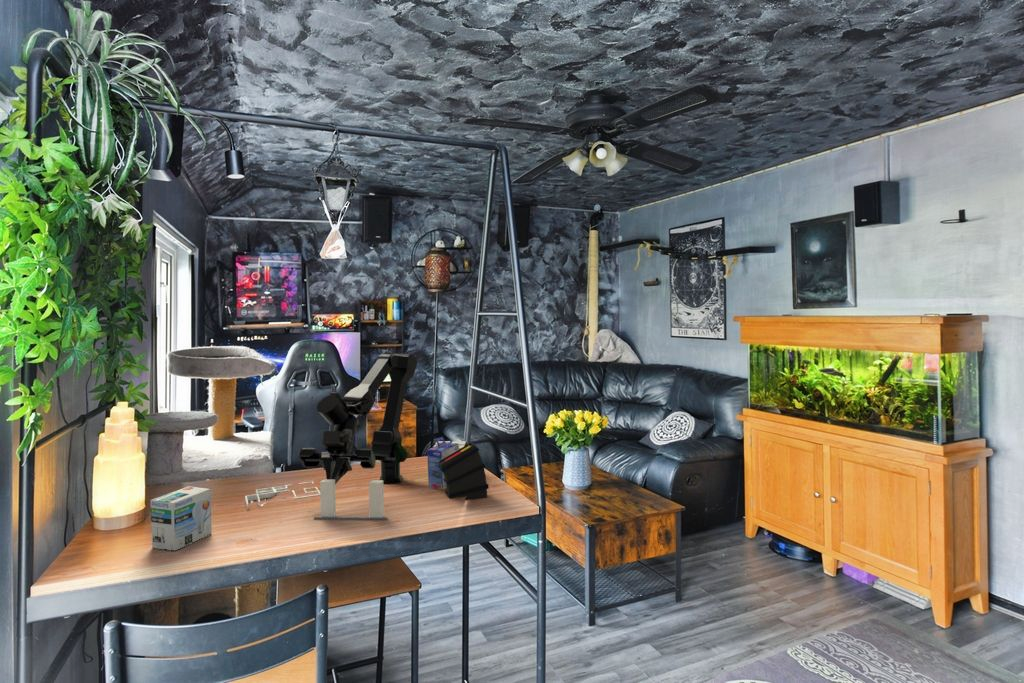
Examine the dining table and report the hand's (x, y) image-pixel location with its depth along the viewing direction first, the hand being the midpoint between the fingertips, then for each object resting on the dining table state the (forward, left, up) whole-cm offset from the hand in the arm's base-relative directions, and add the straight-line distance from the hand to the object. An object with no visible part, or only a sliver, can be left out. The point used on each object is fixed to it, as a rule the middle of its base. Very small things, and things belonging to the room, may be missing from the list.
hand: (329, 488), depth 142 cm
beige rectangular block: (+4, +12, -7) cm, 14 cm away
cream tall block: (+1, 0, -7) cm, 7 cm away
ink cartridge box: (-22, +29, -8) cm, 37 cm away
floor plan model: (-16, -15, -8) cm, 23 cm away
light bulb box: (+9, -30, -8) cm, 33 cm away
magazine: (-11, +34, -8) cm, 36 cm away
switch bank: (-2, +7, -8) cm, 10 cm away
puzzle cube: (-33, +31, -8) cm, 46 cm away
